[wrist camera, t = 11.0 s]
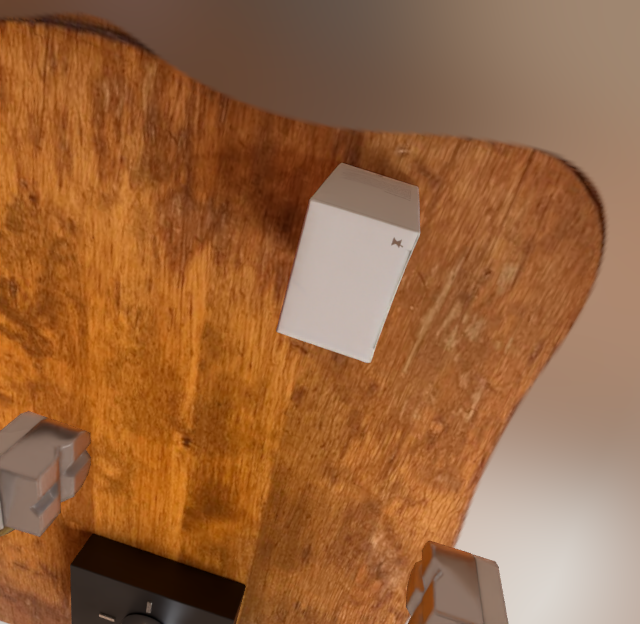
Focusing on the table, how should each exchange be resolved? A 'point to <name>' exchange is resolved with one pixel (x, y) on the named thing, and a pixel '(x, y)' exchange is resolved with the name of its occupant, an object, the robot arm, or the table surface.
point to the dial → (139, 620)
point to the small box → (350, 261)
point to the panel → (146, 588)
